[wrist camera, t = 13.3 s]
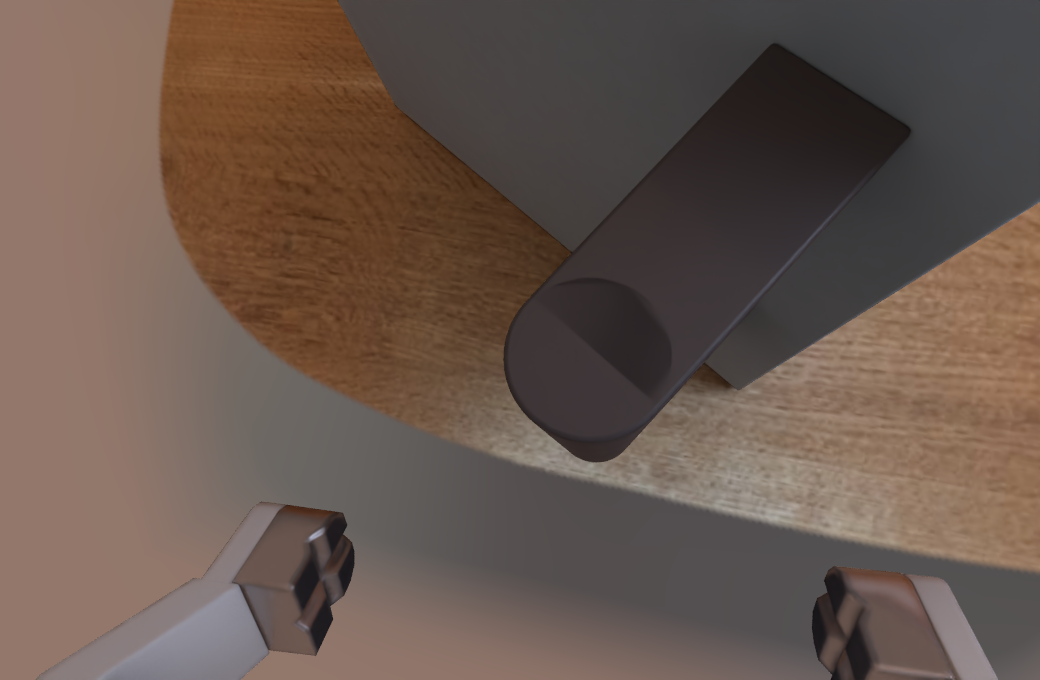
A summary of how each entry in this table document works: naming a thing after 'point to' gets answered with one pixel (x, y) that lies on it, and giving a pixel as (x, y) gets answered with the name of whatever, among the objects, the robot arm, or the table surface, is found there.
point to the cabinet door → (716, 170)
